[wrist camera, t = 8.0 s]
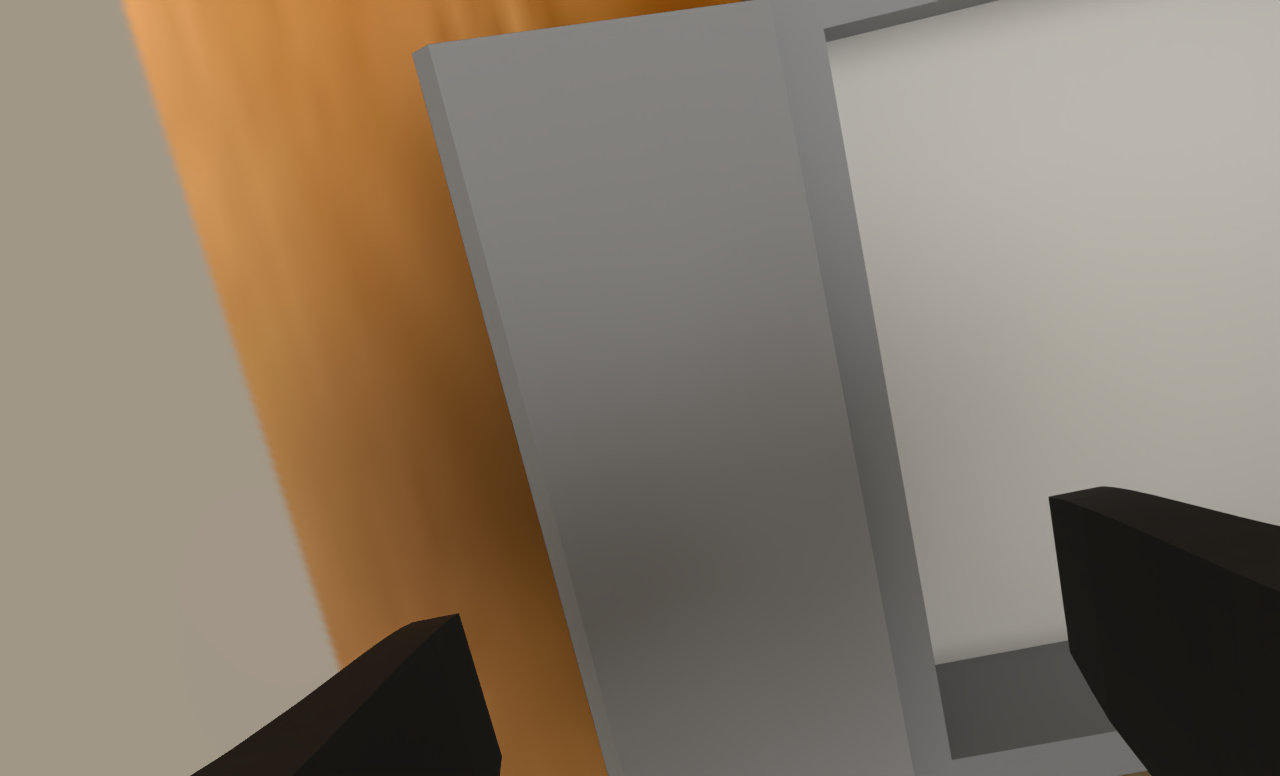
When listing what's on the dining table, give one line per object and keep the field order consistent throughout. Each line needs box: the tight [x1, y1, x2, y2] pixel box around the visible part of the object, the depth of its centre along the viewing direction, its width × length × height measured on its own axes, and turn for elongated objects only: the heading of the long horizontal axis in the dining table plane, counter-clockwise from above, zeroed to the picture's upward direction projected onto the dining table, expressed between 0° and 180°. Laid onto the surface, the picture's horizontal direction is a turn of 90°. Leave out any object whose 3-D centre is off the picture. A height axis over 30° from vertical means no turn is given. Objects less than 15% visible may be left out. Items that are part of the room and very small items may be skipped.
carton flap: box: [412, 0, 915, 776], centre depth 15 cm, size 6×15×1 cm
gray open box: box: [742, 0, 1280, 776], centre depth 19 cm, size 14×16×4 cm
